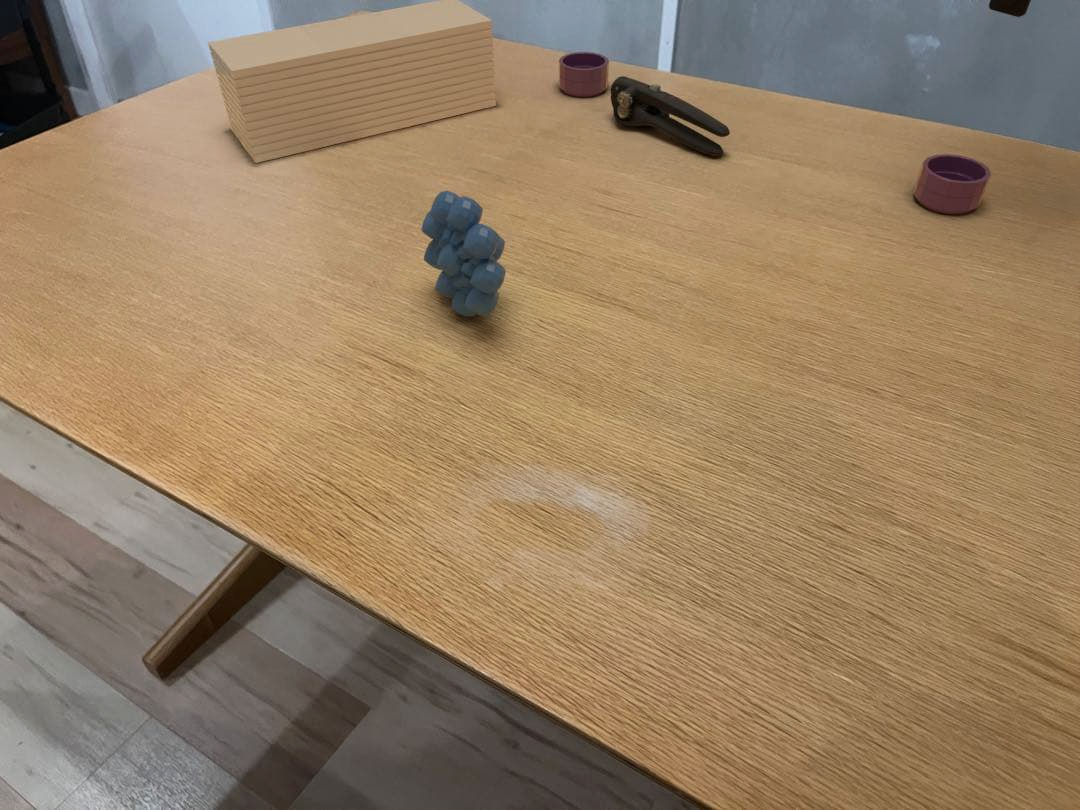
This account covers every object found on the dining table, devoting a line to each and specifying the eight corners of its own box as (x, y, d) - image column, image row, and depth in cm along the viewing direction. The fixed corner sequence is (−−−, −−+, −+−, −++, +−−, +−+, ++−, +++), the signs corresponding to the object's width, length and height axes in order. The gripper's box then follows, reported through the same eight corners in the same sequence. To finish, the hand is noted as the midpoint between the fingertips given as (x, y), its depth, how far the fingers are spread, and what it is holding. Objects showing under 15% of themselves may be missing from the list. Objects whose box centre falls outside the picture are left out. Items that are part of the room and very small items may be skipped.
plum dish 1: (603, 78, 115) (604, 50, 112) (611, 97, 110) (612, 68, 108) (556, 81, 114) (556, 53, 112) (562, 99, 110) (562, 70, 107)
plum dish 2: (959, 185, 91) (971, 152, 88) (989, 214, 86) (1003, 181, 83) (902, 188, 90) (912, 155, 88) (929, 218, 85) (940, 185, 83)
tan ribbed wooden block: (255, 163, 96) (231, 70, 89) (231, 130, 103) (207, 42, 96) (496, 106, 108) (491, 19, 101) (460, 80, 115) (454, -3, 108)
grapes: (543, 329, 72) (542, 206, 64) (476, 356, 69) (466, 231, 61) (475, 269, 79) (467, 151, 71) (413, 292, 76) (396, 172, 68)
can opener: (595, 121, 104) (597, 76, 101) (634, 106, 108) (636, 62, 104) (702, 168, 94) (709, 121, 91) (741, 150, 98) (748, 103, 94)
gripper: (1122, -224, 57) (1023, 32, 69) (1226, -235, 65) (1122, -4, 77) (1020, -233, 62) (943, 9, 73) (1129, -243, 70) (1044, -22, 81)
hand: (1034, 2), depth 75 cm, fingers open, 9 cm apart
